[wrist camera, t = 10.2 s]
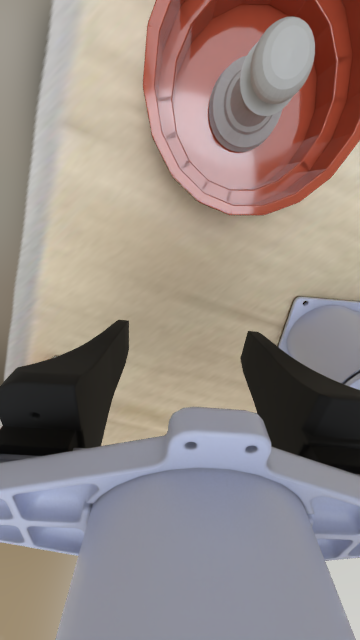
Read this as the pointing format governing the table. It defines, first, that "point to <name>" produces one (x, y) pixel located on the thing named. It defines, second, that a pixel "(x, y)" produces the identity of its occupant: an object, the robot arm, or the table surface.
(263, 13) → the bowl
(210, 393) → the table surface
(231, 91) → the chess piece
